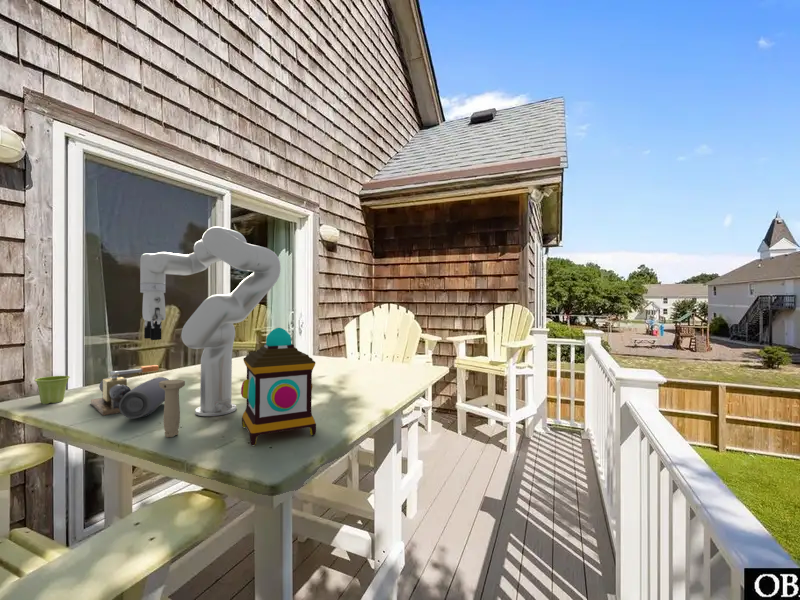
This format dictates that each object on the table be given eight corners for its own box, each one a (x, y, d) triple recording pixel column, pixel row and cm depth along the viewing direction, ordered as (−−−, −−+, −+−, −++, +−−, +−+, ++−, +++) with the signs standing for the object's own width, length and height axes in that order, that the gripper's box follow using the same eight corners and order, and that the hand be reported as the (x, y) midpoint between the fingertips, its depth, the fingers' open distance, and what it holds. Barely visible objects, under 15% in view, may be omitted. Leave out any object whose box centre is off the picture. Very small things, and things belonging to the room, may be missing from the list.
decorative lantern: (322, 437, 107) (323, 329, 106) (246, 450, 97) (247, 331, 97) (302, 417, 124) (303, 324, 124) (236, 427, 114) (237, 326, 114)
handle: (174, 440, 103) (175, 384, 103) (154, 437, 105) (155, 382, 105) (188, 433, 108) (188, 380, 108) (168, 432, 109) (169, 379, 109)
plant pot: (53, 398, 145) (53, 375, 145) (76, 399, 144) (76, 375, 144) (27, 404, 135) (27, 380, 135) (51, 405, 134) (51, 381, 134)
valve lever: (111, 376, 132) (111, 370, 132) (109, 374, 134) (109, 369, 134) (158, 370, 143) (158, 365, 143) (156, 369, 145) (156, 364, 145)
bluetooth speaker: (145, 403, 138) (146, 375, 138) (174, 402, 140) (174, 375, 140) (115, 423, 116) (116, 390, 116) (150, 421, 118) (151, 389, 118)
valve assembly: (146, 407, 133) (146, 377, 133) (103, 415, 124) (103, 382, 124) (130, 397, 146) (131, 369, 146) (90, 403, 137) (91, 373, 137)
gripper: (173, 288, 133) (172, 340, 133) (157, 289, 145) (157, 336, 145) (148, 288, 128) (147, 341, 128) (133, 288, 139) (133, 338, 139)
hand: (152, 338), depth 136 cm, fingers open, 6 cm apart
